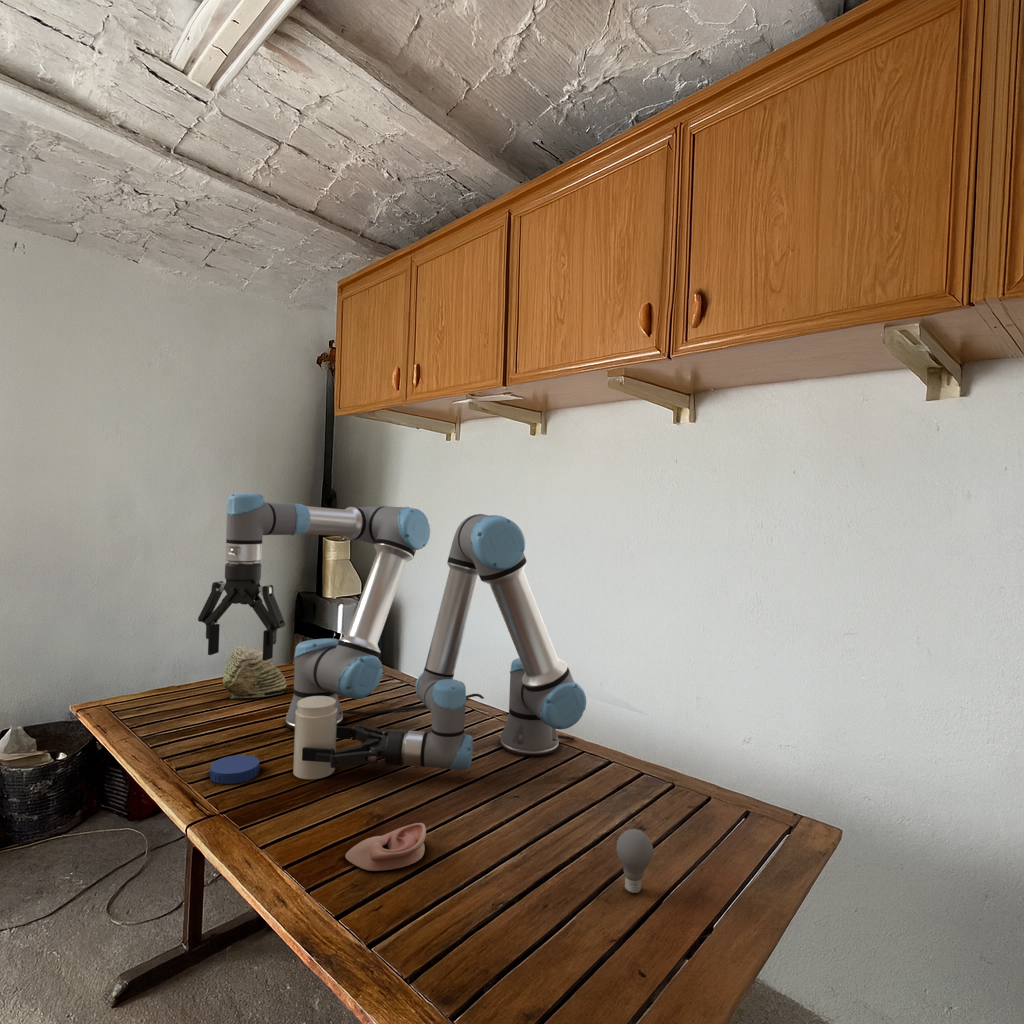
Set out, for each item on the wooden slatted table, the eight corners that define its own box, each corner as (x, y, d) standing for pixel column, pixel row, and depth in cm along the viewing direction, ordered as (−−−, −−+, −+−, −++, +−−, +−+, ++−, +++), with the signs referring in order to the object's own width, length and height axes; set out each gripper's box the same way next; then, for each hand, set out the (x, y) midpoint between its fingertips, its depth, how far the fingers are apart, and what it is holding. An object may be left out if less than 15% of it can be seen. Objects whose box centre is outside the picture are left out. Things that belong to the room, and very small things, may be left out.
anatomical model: (337, 842, 109) (366, 811, 120) (336, 865, 109) (365, 832, 120) (410, 854, 106) (432, 821, 117) (409, 878, 106) (432, 842, 118)
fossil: (218, 695, 195) (220, 647, 195) (278, 685, 208) (279, 640, 207) (228, 703, 189) (230, 653, 188) (289, 692, 201) (290, 645, 201)
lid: (223, 788, 135) (223, 778, 135) (201, 774, 142) (201, 763, 142) (267, 774, 143) (268, 764, 143) (245, 760, 150) (245, 751, 150)
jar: (304, 760, 151) (306, 693, 151) (341, 764, 150) (343, 697, 150) (285, 777, 142) (288, 706, 142) (325, 781, 141) (327, 709, 141)
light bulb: (610, 879, 108) (613, 822, 108) (644, 879, 109) (647, 822, 109) (619, 902, 102) (622, 840, 102) (655, 901, 103) (658, 840, 103)
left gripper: (182, 560, 141) (179, 655, 141) (285, 567, 136) (281, 665, 136) (205, 557, 148) (202, 647, 148) (303, 564, 143) (299, 657, 144)
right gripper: (390, 789, 133) (291, 782, 134) (415, 743, 157) (331, 738, 159) (392, 753, 132) (293, 746, 134) (416, 713, 157) (333, 708, 158)
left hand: (240, 656), depth 142 cm, fingers open, 13 cm apart
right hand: (313, 742), depth 146 cm, fingers open, 13 cm apart
